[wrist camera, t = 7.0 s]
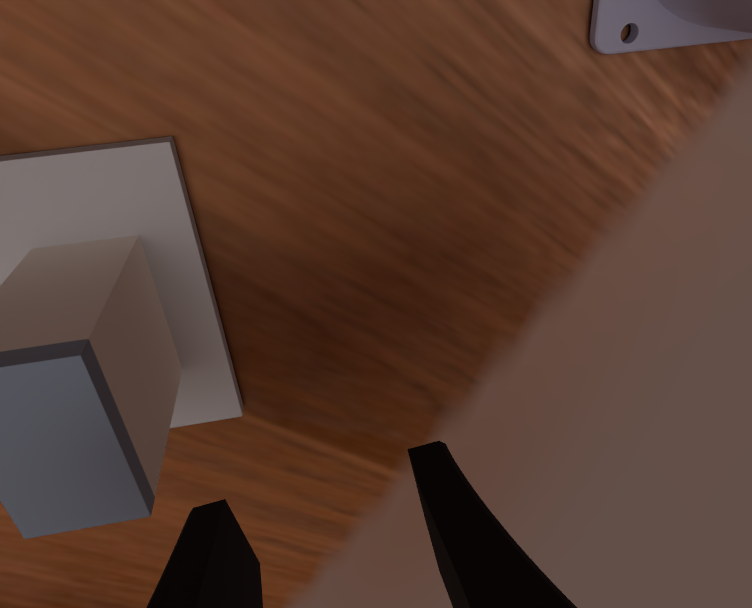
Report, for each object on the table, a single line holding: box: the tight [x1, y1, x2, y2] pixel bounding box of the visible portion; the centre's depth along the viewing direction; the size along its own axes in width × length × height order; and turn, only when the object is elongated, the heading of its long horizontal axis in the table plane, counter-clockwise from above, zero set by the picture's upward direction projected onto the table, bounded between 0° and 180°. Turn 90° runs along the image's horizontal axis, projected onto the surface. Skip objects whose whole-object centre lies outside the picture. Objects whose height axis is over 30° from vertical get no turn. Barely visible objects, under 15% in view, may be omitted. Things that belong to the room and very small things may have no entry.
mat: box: [0, 136, 243, 428], centre depth 18 cm, size 12×10×1 cm
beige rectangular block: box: [0, 235, 182, 539], centre depth 15 cm, size 3×5×6 cm, turn 5°
